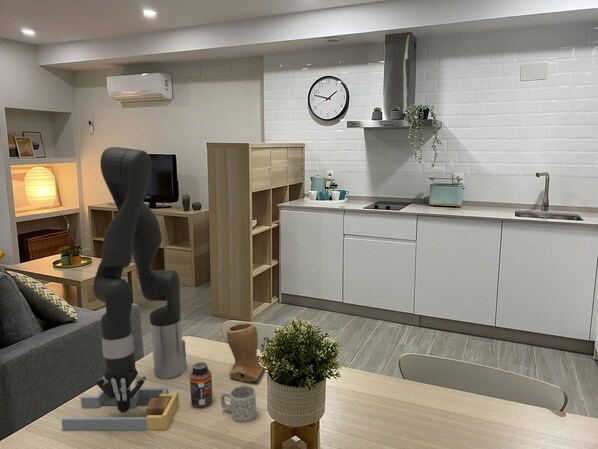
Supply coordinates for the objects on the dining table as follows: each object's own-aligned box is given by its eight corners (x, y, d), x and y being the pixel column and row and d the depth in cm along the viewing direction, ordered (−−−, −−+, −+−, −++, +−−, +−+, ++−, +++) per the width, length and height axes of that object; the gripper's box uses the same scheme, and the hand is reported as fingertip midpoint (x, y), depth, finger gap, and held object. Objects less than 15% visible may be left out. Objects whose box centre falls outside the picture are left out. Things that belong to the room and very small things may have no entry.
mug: (260, 410, 126) (259, 387, 125) (249, 424, 120) (248, 400, 119) (227, 404, 129) (226, 382, 128) (215, 417, 123) (214, 394, 122)
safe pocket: (147, 429, 118) (146, 415, 118) (161, 405, 129) (160, 392, 128) (166, 429, 118) (165, 415, 117) (178, 405, 129) (178, 392, 128)
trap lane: (62, 430, 119) (61, 419, 118) (90, 397, 134) (89, 388, 133) (151, 429, 118) (150, 419, 118) (169, 397, 133) (168, 387, 132)
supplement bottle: (207, 409, 127) (205, 371, 125) (187, 407, 128) (184, 369, 126) (216, 397, 132) (213, 361, 130) (196, 395, 134) (194, 359, 131)
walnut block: (147, 424, 121) (145, 408, 120) (152, 413, 126) (151, 398, 125) (166, 423, 121) (165, 408, 120) (171, 412, 126) (169, 397, 125)
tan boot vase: (235, 359, 155) (233, 316, 153) (269, 361, 153) (268, 318, 150) (219, 382, 141) (216, 336, 138) (257, 385, 139) (255, 338, 136)
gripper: (86, 357, 117) (93, 419, 120) (138, 357, 117) (144, 419, 120) (99, 344, 124) (106, 403, 128) (148, 344, 124) (153, 403, 127)
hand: (124, 411), depth 124 cm, fingers closed
